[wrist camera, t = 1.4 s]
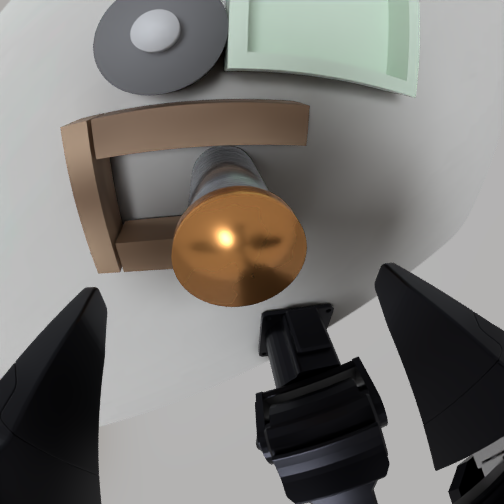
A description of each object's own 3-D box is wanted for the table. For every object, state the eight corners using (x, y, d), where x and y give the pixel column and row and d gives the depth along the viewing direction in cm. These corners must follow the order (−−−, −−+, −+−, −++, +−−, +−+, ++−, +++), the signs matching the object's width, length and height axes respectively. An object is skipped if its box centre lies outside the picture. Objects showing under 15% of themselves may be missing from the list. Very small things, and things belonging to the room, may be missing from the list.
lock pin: (260, 207, 16) (297, 300, 10) (188, 212, 16) (181, 310, 10) (263, 137, 14) (315, 194, 8) (182, 140, 13) (161, 201, 7)
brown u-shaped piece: (282, 236, 18) (292, 259, 16) (108, 249, 16) (98, 273, 14) (293, 101, 13) (309, 105, 11) (80, 118, 11) (60, 127, 9)
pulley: (223, 88, 12) (228, 90, 9) (111, 101, 11) (88, 107, 9) (226, -10, 8) (232, -32, 6) (112, 4, 8) (90, -11, 5)
